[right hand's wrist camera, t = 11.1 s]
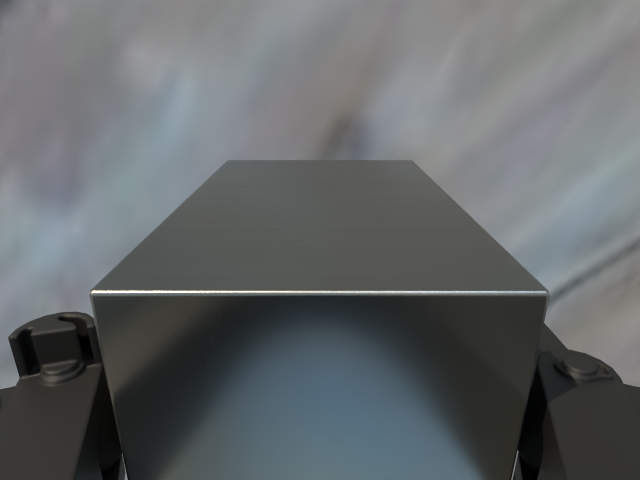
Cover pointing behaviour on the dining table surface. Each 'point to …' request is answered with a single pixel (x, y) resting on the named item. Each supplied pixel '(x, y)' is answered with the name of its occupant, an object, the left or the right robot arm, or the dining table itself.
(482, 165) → the dining table surface
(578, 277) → the dining table surface
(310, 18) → the dining table surface
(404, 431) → the box
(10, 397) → the right robot arm
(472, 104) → the dining table surface
